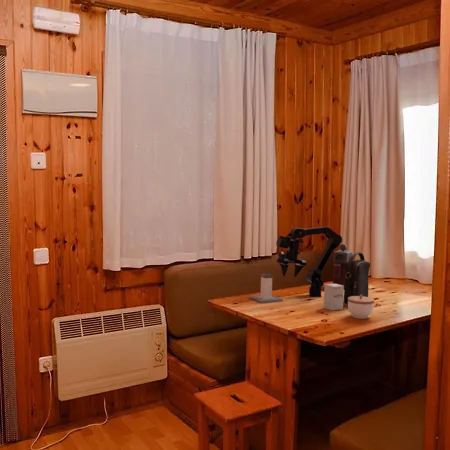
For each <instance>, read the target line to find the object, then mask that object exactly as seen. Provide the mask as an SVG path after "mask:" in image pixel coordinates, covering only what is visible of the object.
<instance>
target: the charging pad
mask: <svg viewBox="0 0 450 450" xmlns="http://www.w3.org/2000/svg"><path fill="white" fill-rule="evenodd" d="M248 298H249V299H250V300H253V301H256V302H257V303H259V304H269V303H280V302H284V299H282V298H281V297H278V296H276V295H273V294H272V298H267V299H264V298H262V297H261V294H260V295H259V294H257V295H249V297H248Z"/></svg>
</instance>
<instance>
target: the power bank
mask: <svg viewBox="0 0 450 450" xmlns="http://www.w3.org/2000/svg"><path fill="white" fill-rule="evenodd" d="M272 293H273V274H272V273H271V274H270V273H261V274H260V295H261V297H262V298H264V299H267V298H272V295H273V294H272Z"/></svg>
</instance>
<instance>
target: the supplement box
mask: <svg viewBox="0 0 450 450" xmlns="http://www.w3.org/2000/svg"><path fill="white" fill-rule="evenodd" d="M323 288H324V290H323V291H324V292H323V308H324V309H326V310H330V311H337V310H343V308H344V305H343V303H344V286H343V285H339V284H333V283H326V284H324V287H323Z"/></svg>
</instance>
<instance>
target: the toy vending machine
mask: <svg viewBox="0 0 450 450" xmlns="http://www.w3.org/2000/svg"><path fill="white" fill-rule="evenodd" d="M347 249H348V245H347V244H346V243H341V244H340V245H339V250H334V251H333V264H332V265H333V268H332V271H333V272H332V284H339V285H343V286H344V289H345V271H346V270H345V269H346V263H347V262H348V261H349V258H350V256H351V254H353V251H351V250H347Z"/></svg>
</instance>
